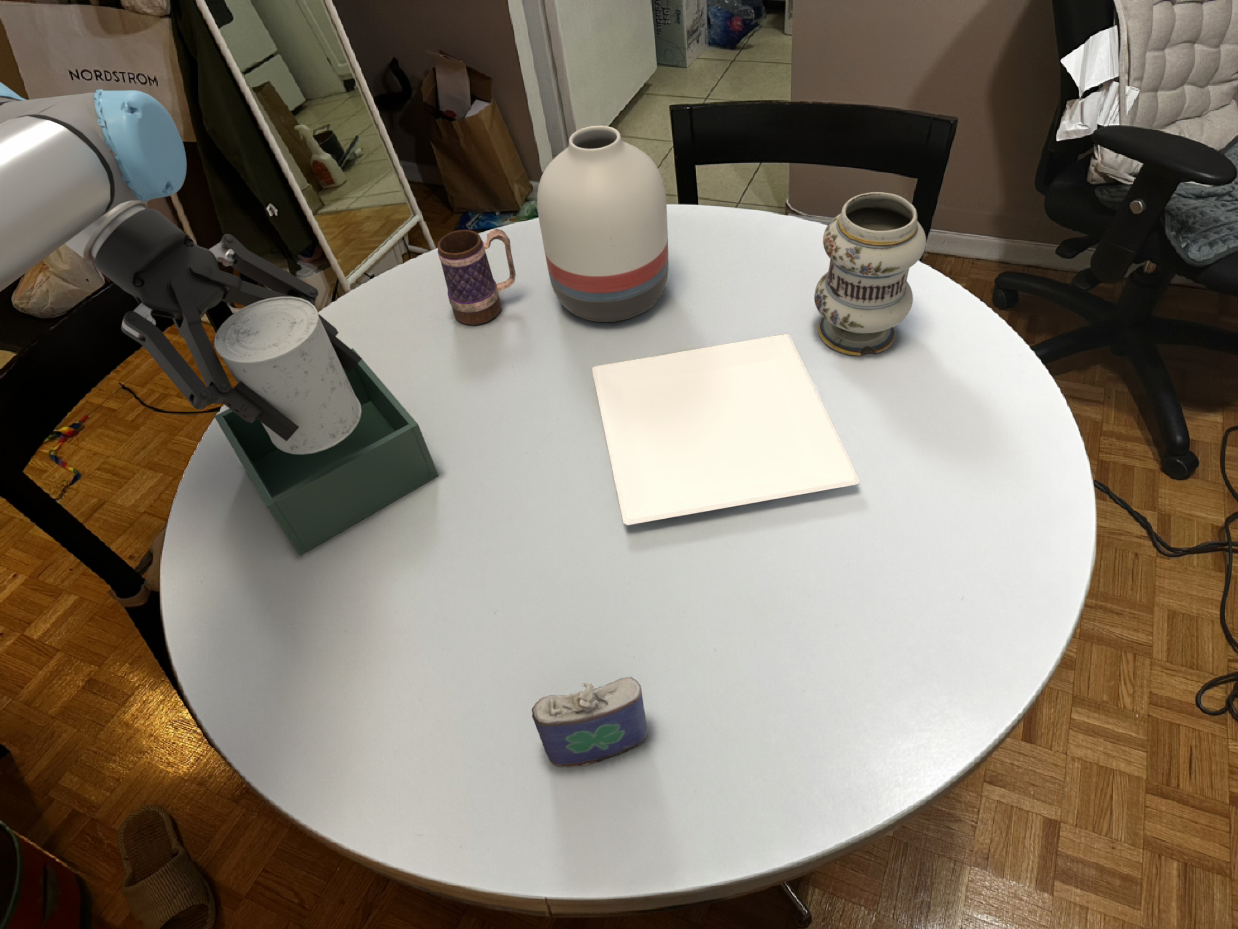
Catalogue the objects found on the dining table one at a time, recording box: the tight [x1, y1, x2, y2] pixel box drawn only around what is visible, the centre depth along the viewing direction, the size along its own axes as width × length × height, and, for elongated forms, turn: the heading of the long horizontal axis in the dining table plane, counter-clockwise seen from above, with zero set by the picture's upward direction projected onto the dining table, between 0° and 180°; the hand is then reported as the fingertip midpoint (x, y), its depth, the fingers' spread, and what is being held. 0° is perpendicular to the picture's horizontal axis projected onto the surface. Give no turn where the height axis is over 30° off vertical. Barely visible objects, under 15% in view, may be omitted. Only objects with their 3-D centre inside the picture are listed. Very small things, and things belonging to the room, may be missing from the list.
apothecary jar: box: [813, 191, 927, 357], centre depth 97 cm, size 12×12×18 cm
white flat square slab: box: [591, 333, 861, 526], centre depth 93 cm, size 26×26×2 cm
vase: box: [536, 125, 669, 323], centre depth 104 cm, size 17×17×24 cm
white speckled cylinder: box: [214, 297, 361, 454], centre depth 77 cm, size 10×10×12 cm
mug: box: [437, 228, 516, 326], centre depth 109 cm, size 10×7×12 cm
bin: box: [213, 347, 439, 556], centre depth 91 cm, size 18×18×9 cm
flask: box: [531, 676, 649, 768], centre depth 66 cm, size 9×3×11 cm, turn 103°
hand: (325, 398), depth 78 cm, fingers closed on white speckled cylinder, 9 cm apart
